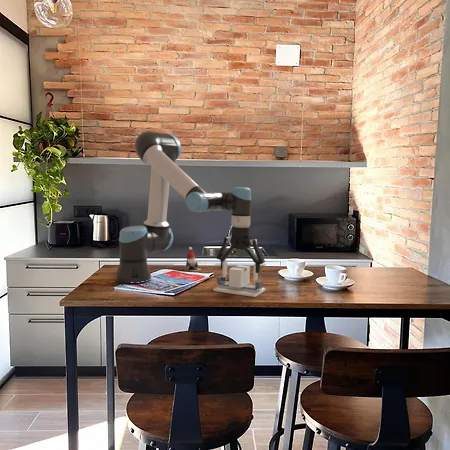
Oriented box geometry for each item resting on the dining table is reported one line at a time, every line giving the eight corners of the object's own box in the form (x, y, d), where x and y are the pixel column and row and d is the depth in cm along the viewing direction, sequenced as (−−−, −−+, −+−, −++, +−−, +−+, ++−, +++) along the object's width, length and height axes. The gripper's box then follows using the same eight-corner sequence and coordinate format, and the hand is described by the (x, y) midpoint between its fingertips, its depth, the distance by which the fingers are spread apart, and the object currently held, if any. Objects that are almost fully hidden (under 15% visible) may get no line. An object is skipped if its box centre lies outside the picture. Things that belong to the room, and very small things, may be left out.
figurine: (198, 265, 203) (183, 247, 208) (188, 279, 208) (174, 261, 212) (209, 262, 210) (194, 245, 215) (198, 276, 214) (184, 259, 219)
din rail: (215, 286, 174) (215, 277, 173) (222, 283, 179) (222, 274, 179) (258, 293, 166) (258, 283, 165) (263, 289, 171) (264, 280, 171)
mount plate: (213, 290, 172) (213, 288, 171) (225, 285, 181) (225, 282, 181) (254, 296, 164) (255, 294, 164) (265, 290, 173) (265, 288, 173)
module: (228, 286, 169) (229, 268, 169) (238, 281, 177) (238, 264, 177) (240, 287, 167) (240, 270, 166) (249, 283, 175) (250, 266, 174)
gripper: (208, 225, 172) (208, 276, 174) (266, 229, 161) (265, 284, 163) (217, 223, 179) (216, 273, 181) (273, 227, 168) (272, 280, 170)
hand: (239, 278), depth 172 cm, fingers open, 13 cm apart
